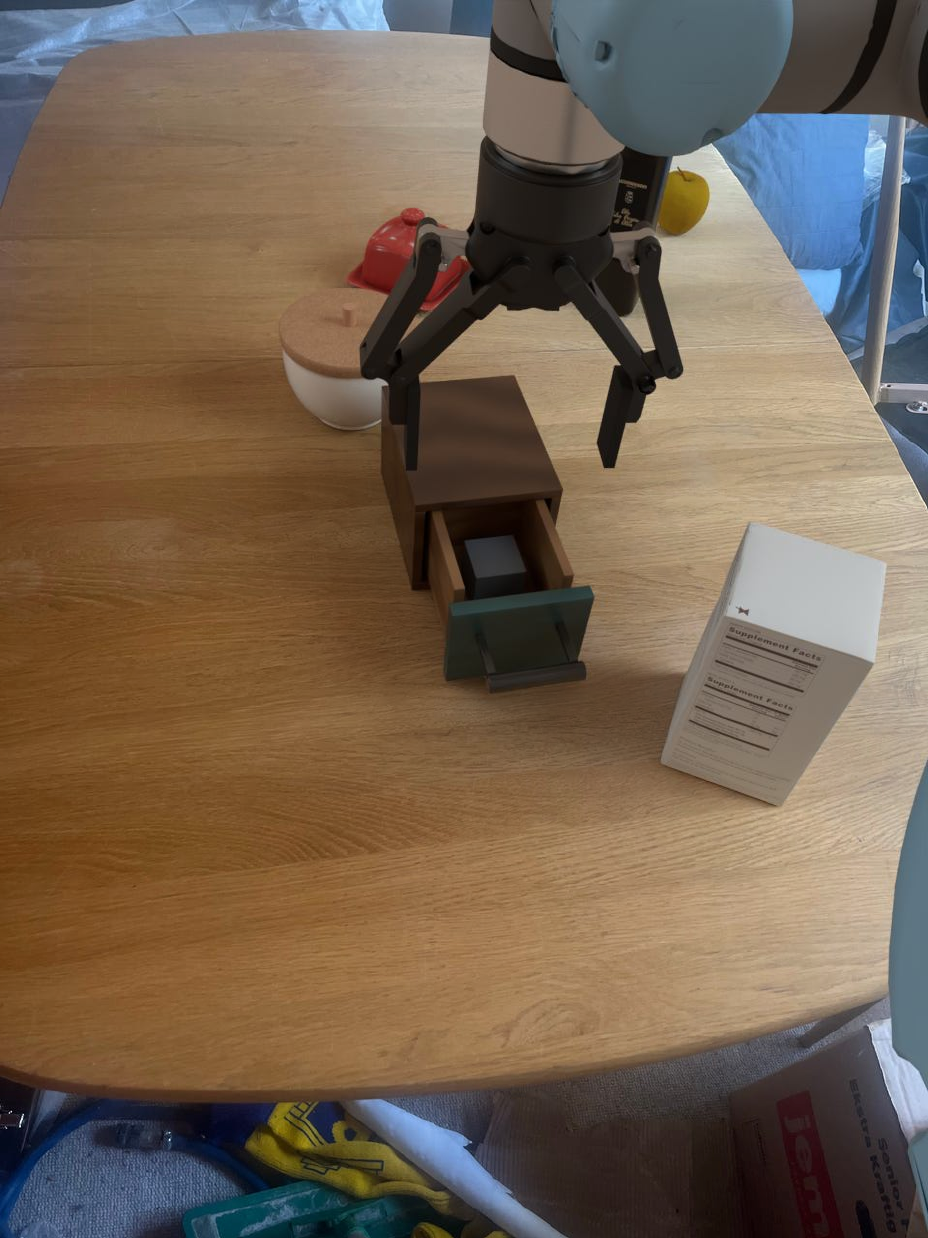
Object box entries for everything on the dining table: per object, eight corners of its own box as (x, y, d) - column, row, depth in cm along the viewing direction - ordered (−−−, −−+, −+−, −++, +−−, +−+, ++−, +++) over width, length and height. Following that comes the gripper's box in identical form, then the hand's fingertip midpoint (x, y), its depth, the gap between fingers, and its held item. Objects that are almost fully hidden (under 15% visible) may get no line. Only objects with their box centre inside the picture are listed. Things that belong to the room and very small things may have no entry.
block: (507, 569, 78) (513, 534, 75) (520, 605, 76) (526, 571, 73) (460, 574, 78) (463, 540, 74) (471, 612, 75) (475, 578, 72)
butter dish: (339, 290, 106) (337, 216, 100) (392, 245, 113) (394, 173, 106) (430, 323, 103) (434, 249, 97) (479, 275, 110) (486, 203, 104)
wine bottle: (629, 319, 107) (699, 17, 84) (580, 306, 108) (636, 4, 85) (641, 294, 110) (712, -3, 87) (593, 281, 111) (651, -15, 88)
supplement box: (782, 811, 68) (878, 669, 55) (656, 766, 70) (721, 618, 57) (801, 708, 74) (892, 558, 61) (685, 669, 76) (749, 515, 63)
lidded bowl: (426, 443, 91) (432, 343, 82) (292, 454, 88) (283, 352, 80) (404, 363, 98) (407, 264, 90) (280, 371, 96) (271, 270, 88)
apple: (638, 222, 121) (652, 159, 115) (680, 215, 123) (696, 152, 117) (665, 248, 117) (681, 183, 111) (708, 240, 119) (726, 176, 113)
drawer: (597, 715, 71) (617, 650, 65) (460, 737, 69) (468, 672, 63) (530, 539, 82) (542, 470, 76) (411, 553, 80) (414, 483, 74)
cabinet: (546, 573, 81) (563, 489, 74) (411, 590, 79) (415, 505, 71) (502, 459, 90) (514, 374, 83) (380, 472, 88) (381, 385, 80)
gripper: (761, 117, 54) (671, 420, 70) (310, 102, 51) (325, 422, 67) (805, 181, 49) (697, 490, 65) (309, 169, 46) (326, 496, 62)
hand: (508, 456), depth 66 cm, fingers open, 13 cm apart
